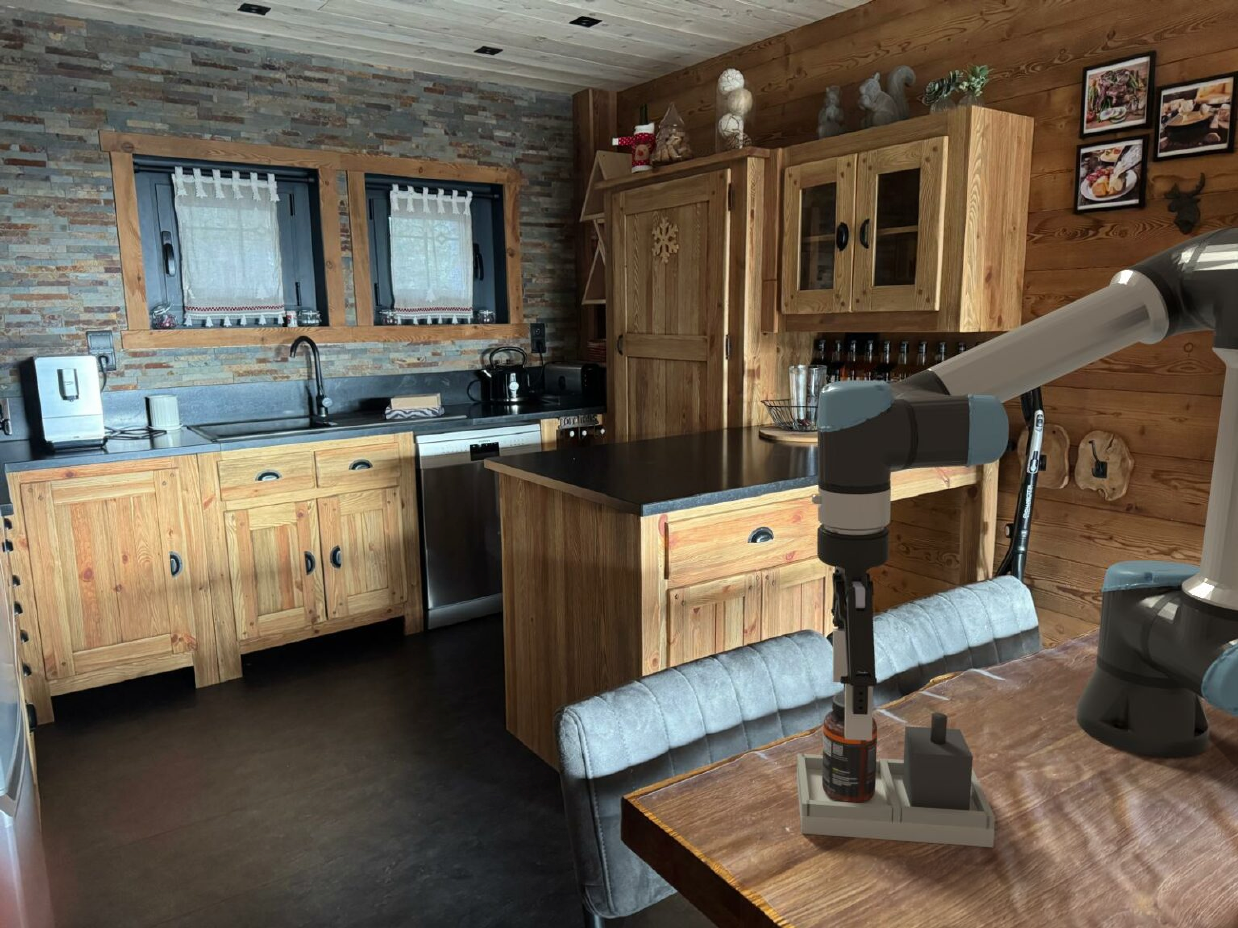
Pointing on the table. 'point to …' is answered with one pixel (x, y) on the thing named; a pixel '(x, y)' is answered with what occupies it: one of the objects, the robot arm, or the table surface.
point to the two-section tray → (905, 814)
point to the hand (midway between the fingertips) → (850, 707)
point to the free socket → (830, 807)
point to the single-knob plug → (937, 766)
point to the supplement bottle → (847, 758)
